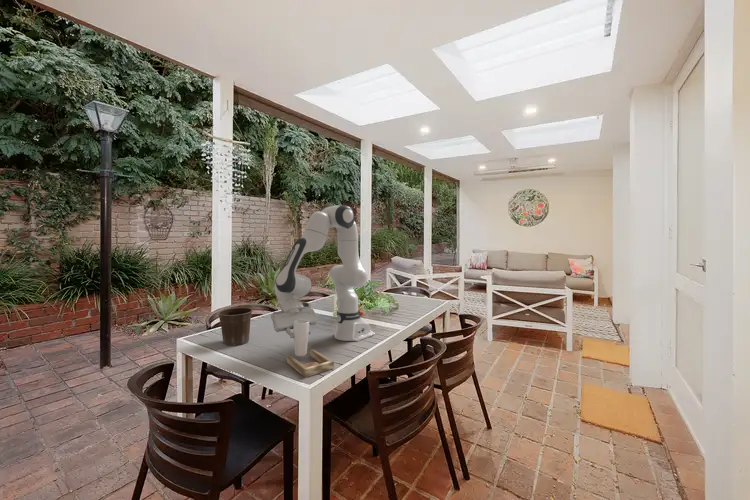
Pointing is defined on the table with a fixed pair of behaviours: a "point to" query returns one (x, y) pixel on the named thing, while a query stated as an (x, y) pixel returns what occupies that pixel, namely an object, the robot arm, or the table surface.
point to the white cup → (301, 336)
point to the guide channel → (312, 364)
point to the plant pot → (235, 325)
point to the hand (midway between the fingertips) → (301, 335)
